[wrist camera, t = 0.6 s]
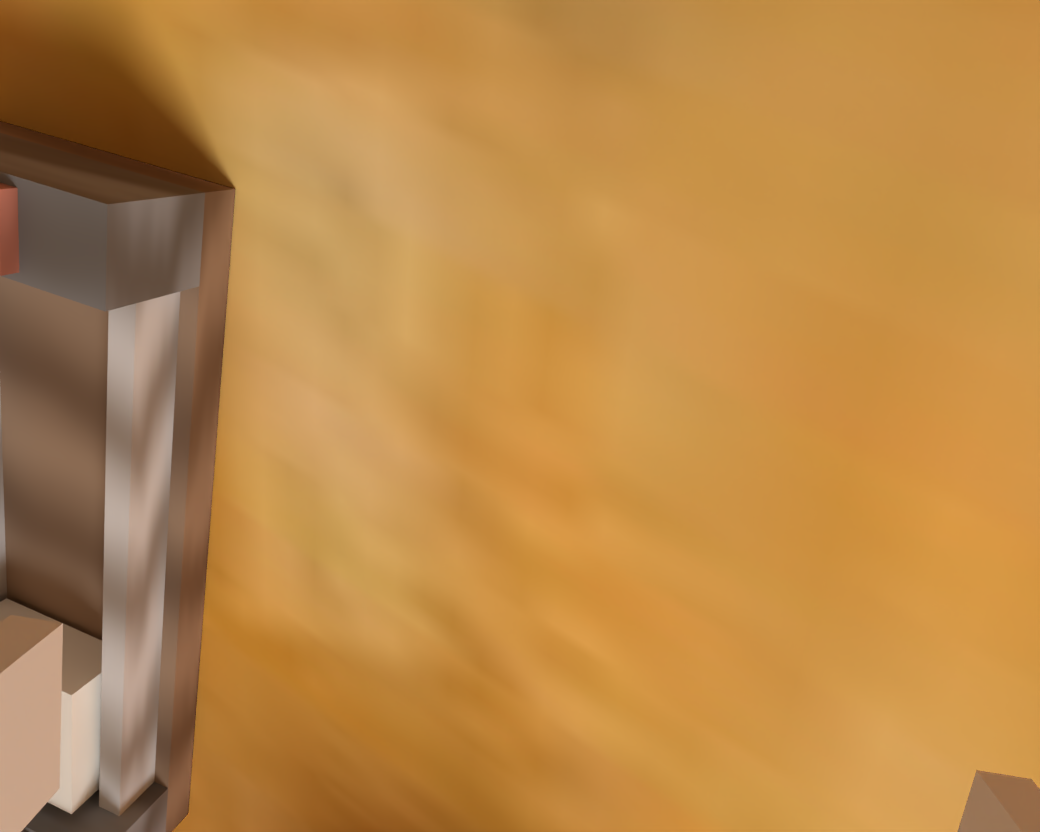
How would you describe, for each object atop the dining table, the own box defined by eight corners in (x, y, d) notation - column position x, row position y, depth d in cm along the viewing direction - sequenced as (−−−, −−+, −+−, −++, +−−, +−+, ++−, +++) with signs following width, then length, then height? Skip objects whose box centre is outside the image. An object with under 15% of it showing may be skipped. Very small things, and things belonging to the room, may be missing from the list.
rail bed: (-10, 118, 30) (-197, 118, 24) (235, 189, 27) (89, 206, 22) (11, 727, 40) (-116, 822, 35) (188, 813, 38) (82, 929, 33)
